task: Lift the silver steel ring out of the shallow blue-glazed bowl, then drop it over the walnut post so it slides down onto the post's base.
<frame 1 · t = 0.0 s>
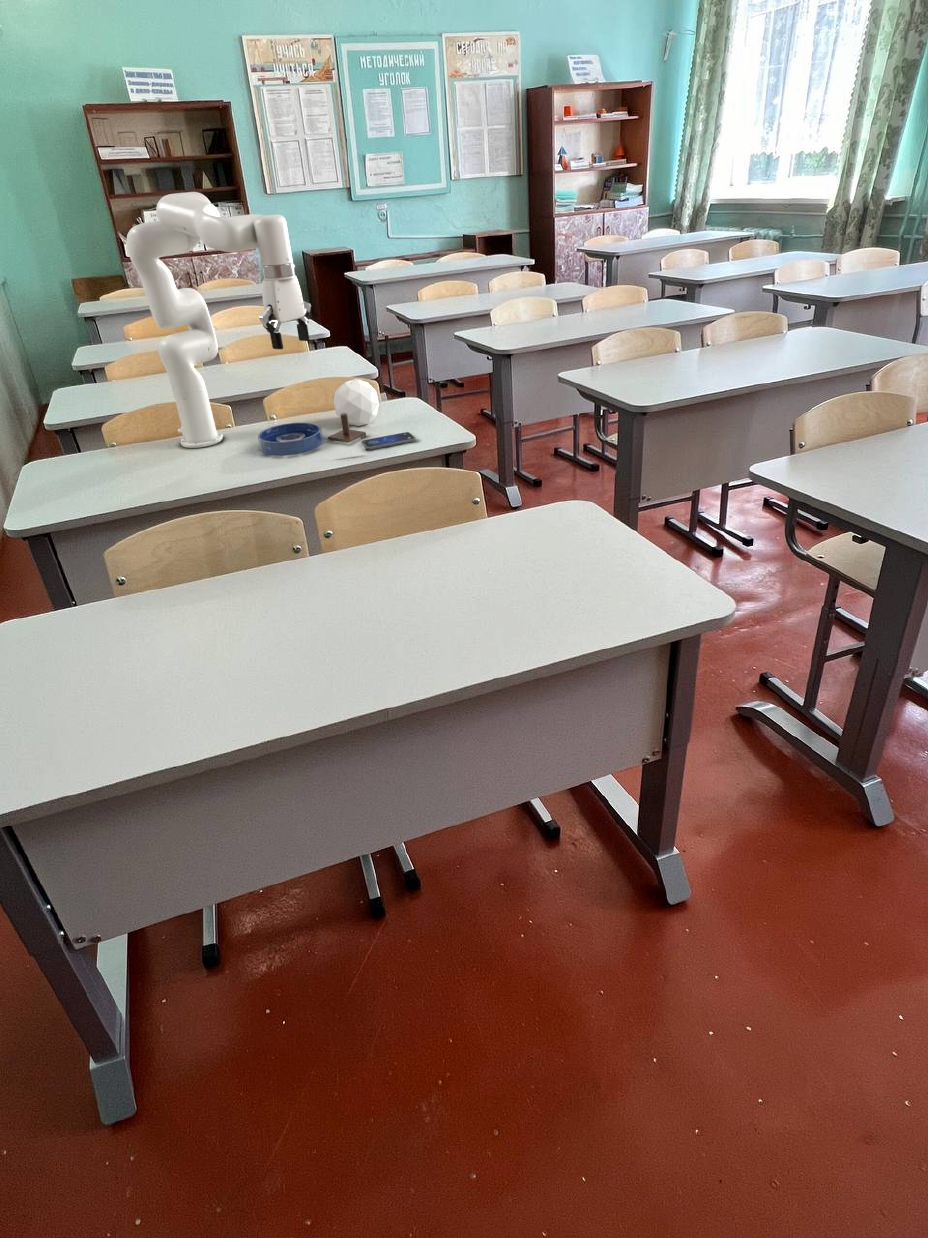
hand: (291, 344, 194), 31 cm above the table, tool pointing down, fingers open, 9 cm apart
ring: (291, 442, 224), point 1 cm above the table, touching bowl
post: (347, 439, 225), on the table
bowl: (292, 447, 222), on the table
geodesic sphere: (359, 424, 237), on the table
smartphone: (388, 443, 220), on the table
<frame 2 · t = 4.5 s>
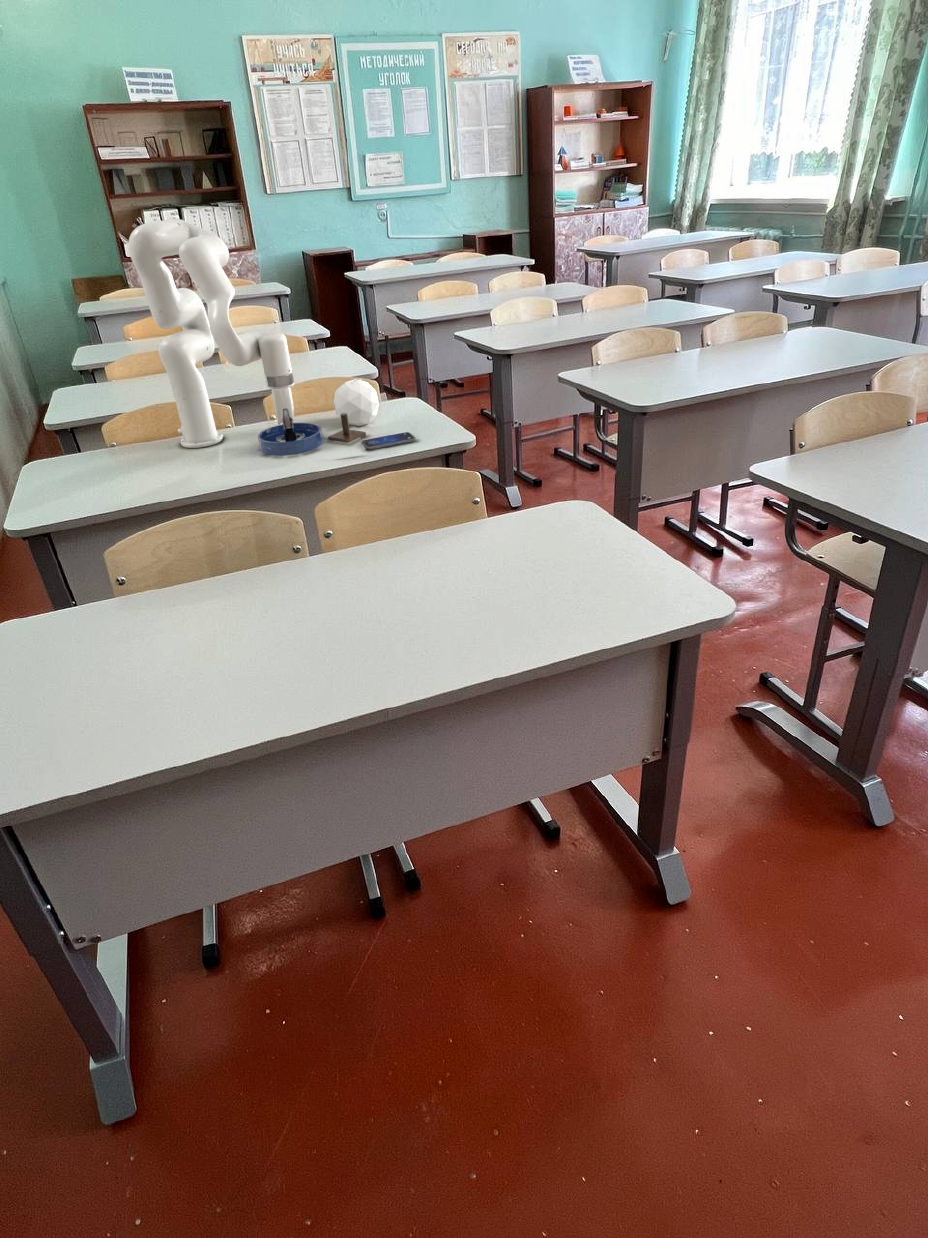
hand: (291, 443, 220), 1 cm above the table, tool pointing down, fingers closed on ring, 1 cm apart
ring: (291, 442, 223), point 1 cm above the table, touching gripper
everything else where it was.
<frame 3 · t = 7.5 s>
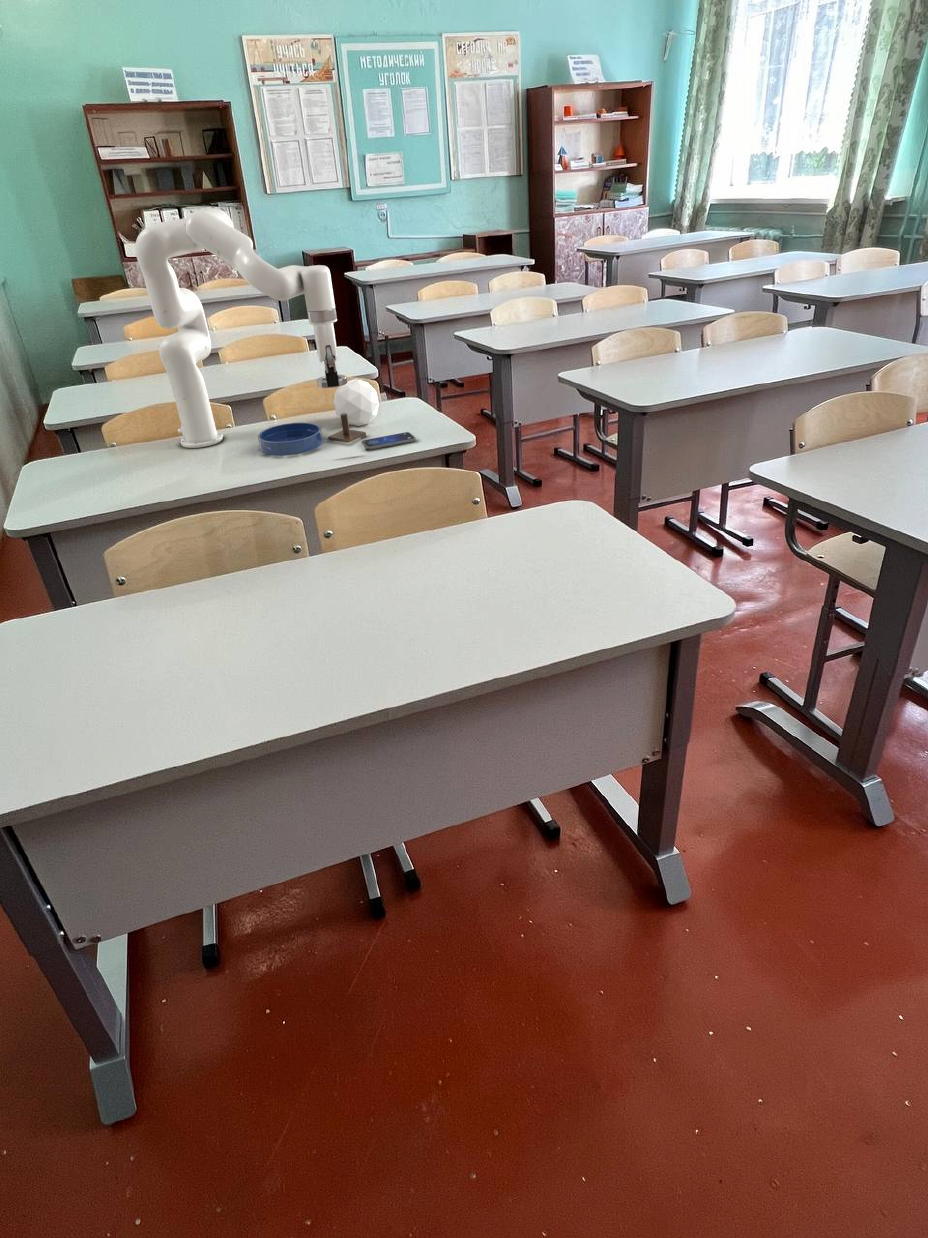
hand: (333, 384, 213), 17 cm above the table, tool pointing down, fingers closed on ring
ring: (332, 383, 216), point 16 cm above the table, touching gripper
everything else where it was.
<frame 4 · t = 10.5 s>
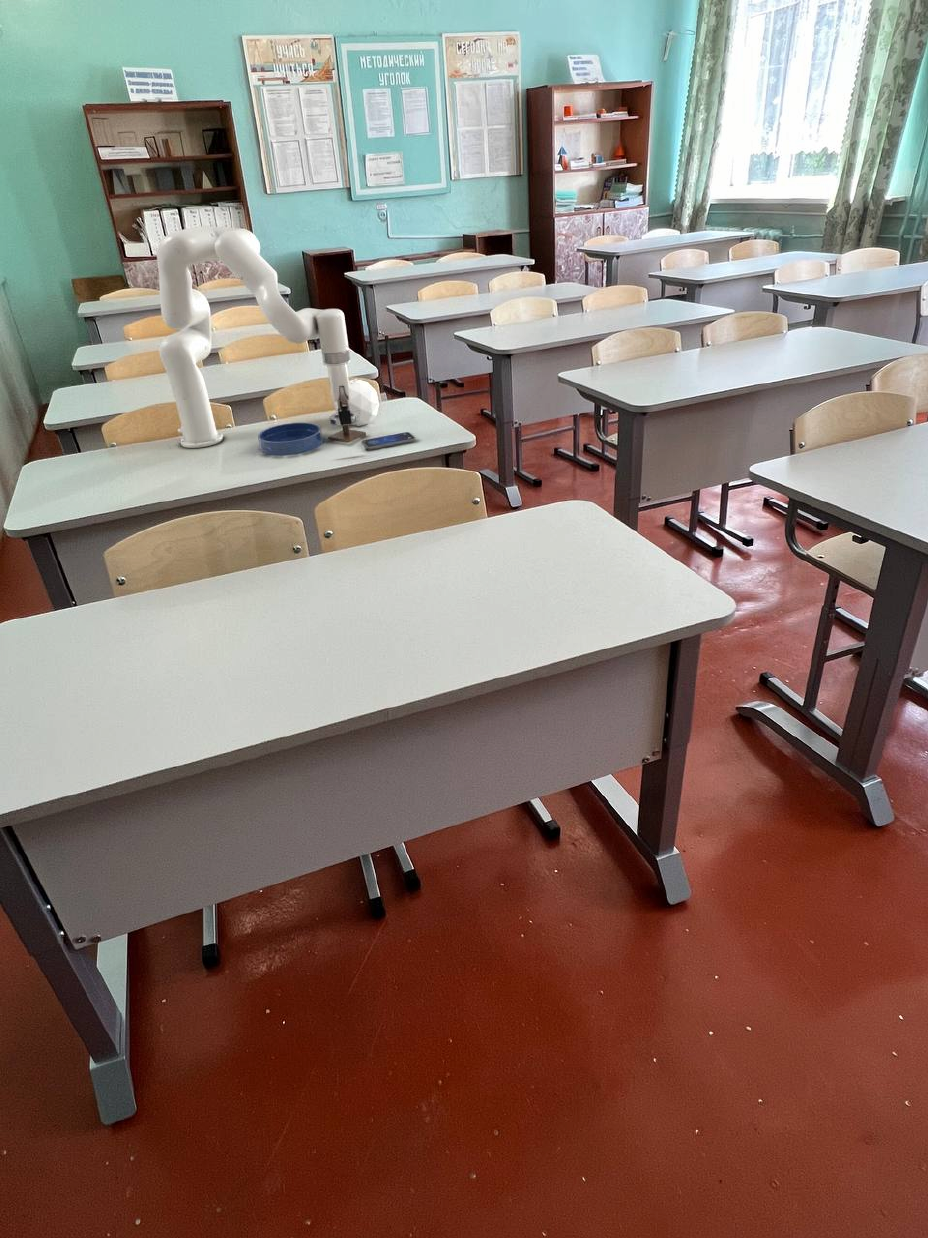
hand: (345, 422, 219), 6 cm above the table, tool pointing down, fingers closed on ring
ring: (344, 420, 222), point 6 cm above the table, touching gripper
everything else where it was.
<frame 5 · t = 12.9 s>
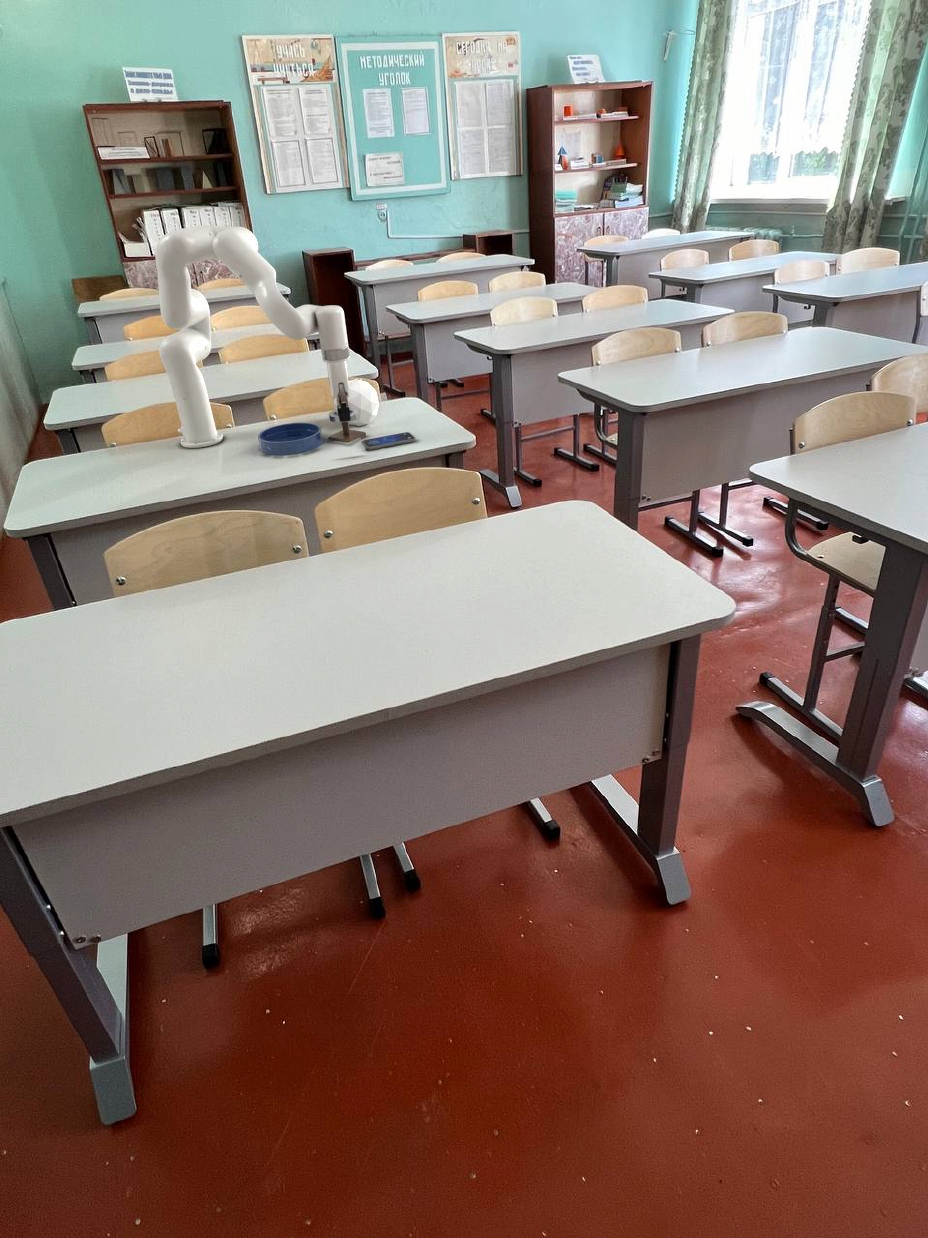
hand: (344, 419, 219), 7 cm above the table, tool pointing down, fingers closed on ring
ring: (344, 417, 222), point 6 cm above the table, touching gripper
everything else where it was.
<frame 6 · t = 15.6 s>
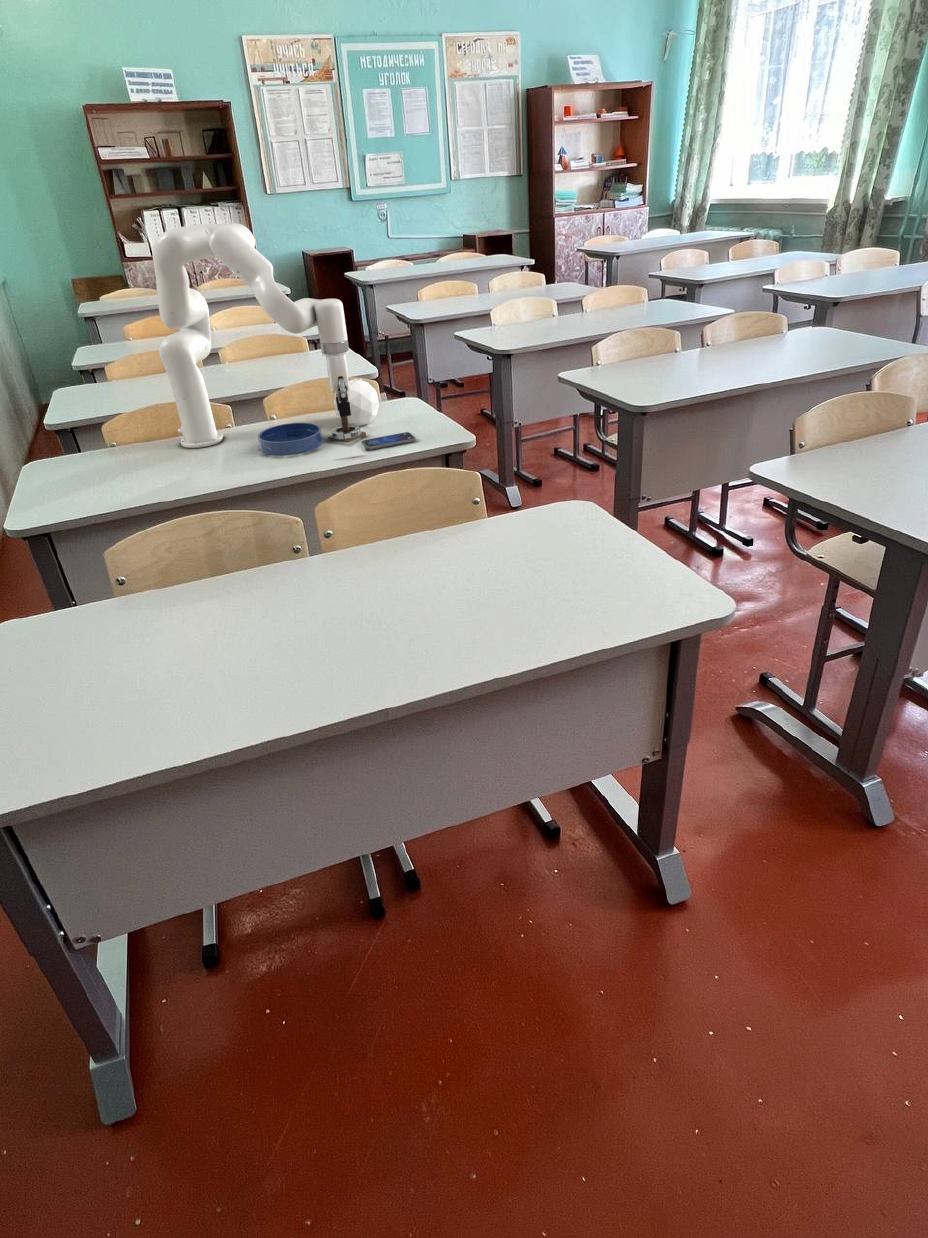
hand: (344, 412, 217), 9 cm above the table, tool pointing down, fingers open, 5 cm apart
ring: (346, 434, 224), point 1 cm above the table, touching post
everything else where it was.
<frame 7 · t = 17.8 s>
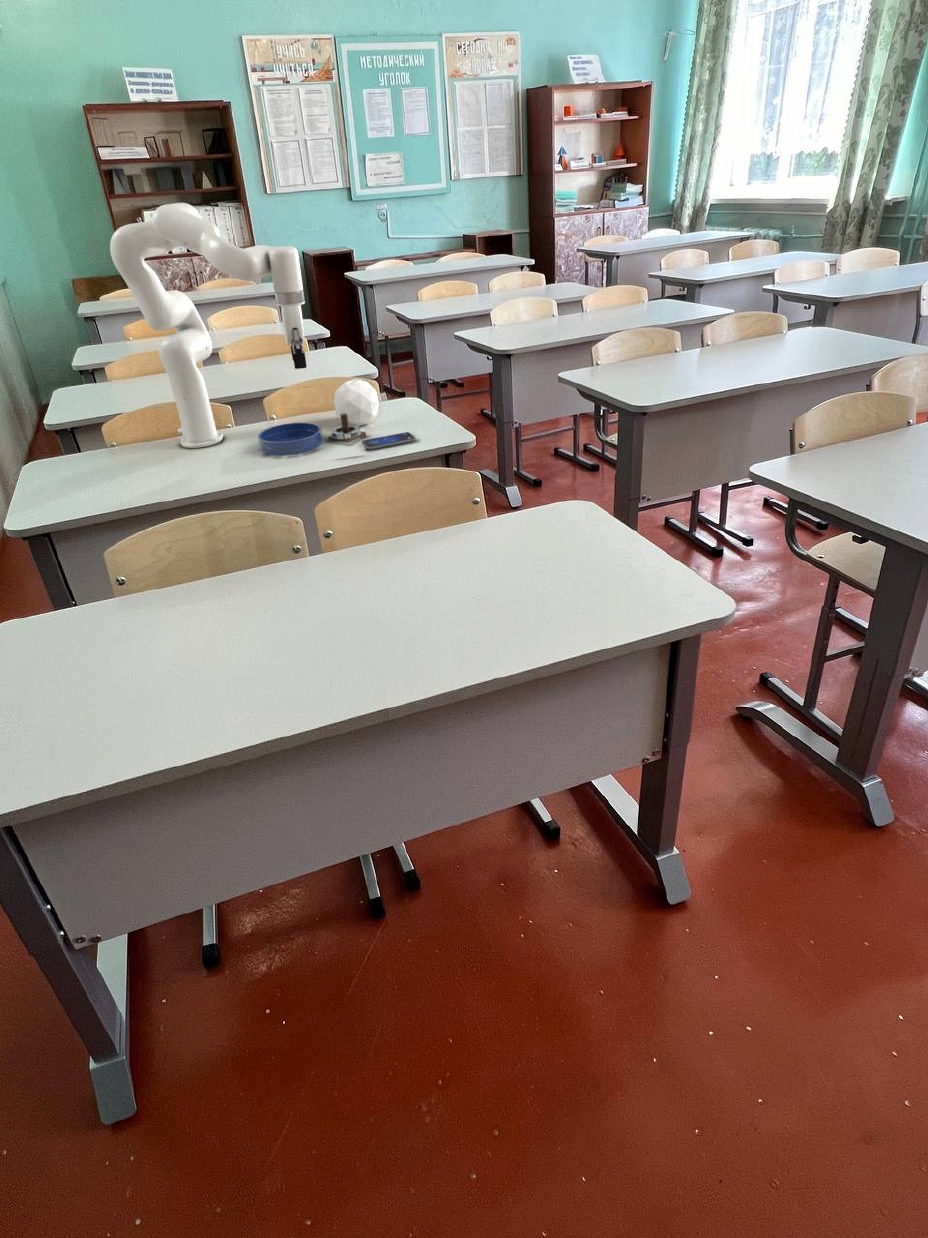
hand: (299, 364, 210), 23 cm above the table, tool pointing down, fingers open, 9 cm apart
nothing on the table moved.
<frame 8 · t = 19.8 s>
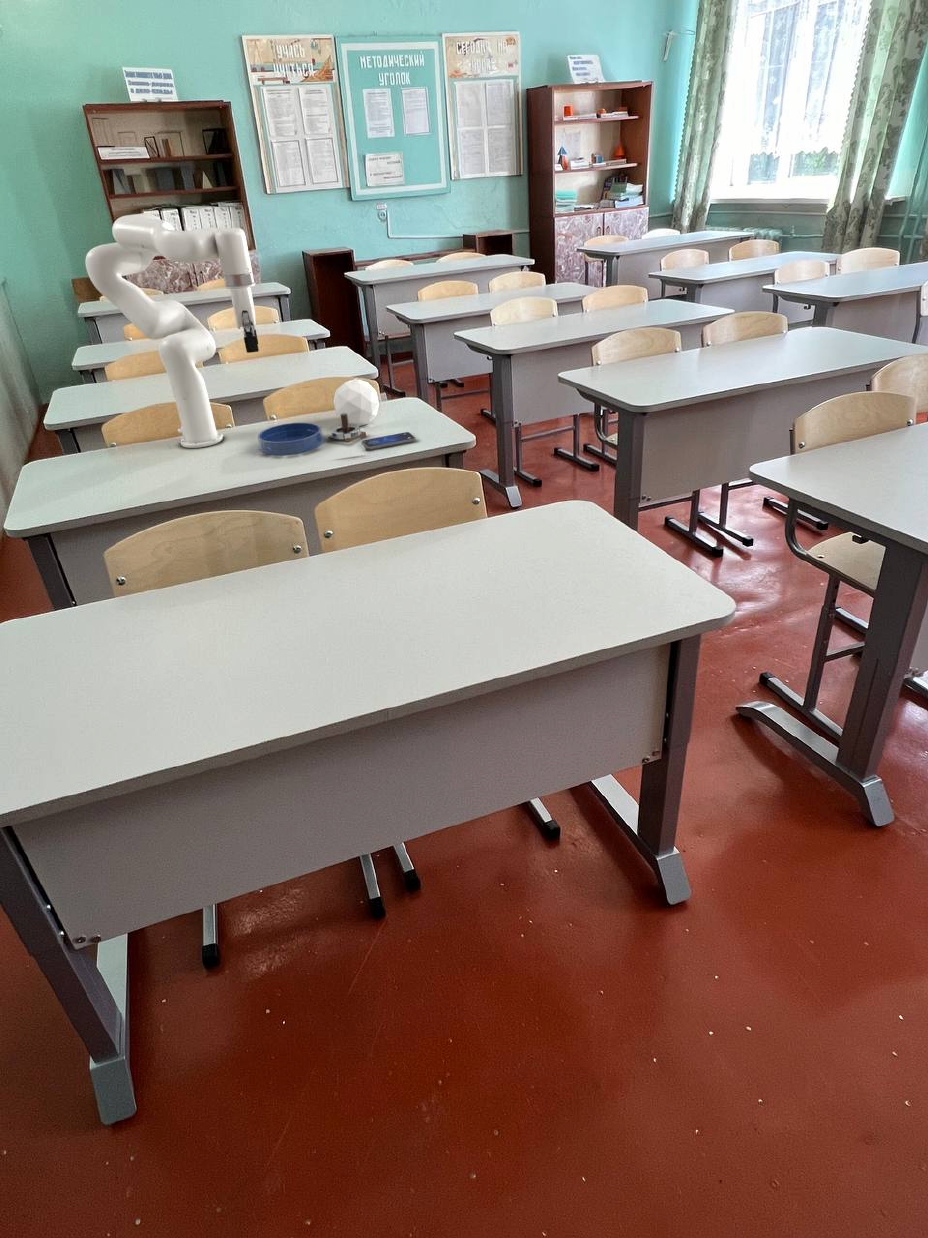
hand: (252, 348, 208), 28 cm above the table, tool pointing down, fingers open, 9 cm apart
nothing on the table moved.
at the end: ring touching post; ring 0.5 cm from the post (horizontally); ring point 1.5 cm above the table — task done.
